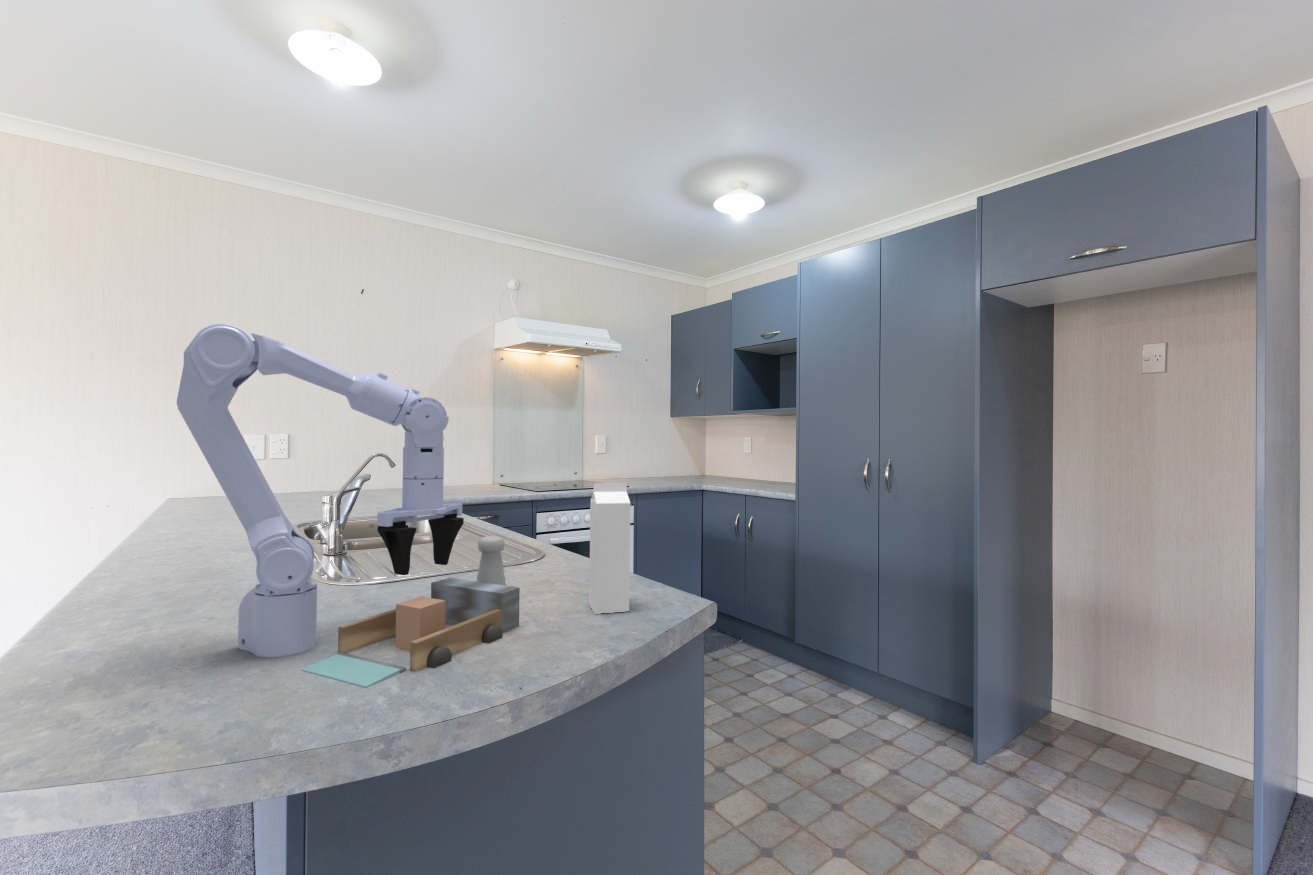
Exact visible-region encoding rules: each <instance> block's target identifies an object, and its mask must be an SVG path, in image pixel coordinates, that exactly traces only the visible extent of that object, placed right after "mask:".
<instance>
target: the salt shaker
mask: <svg viewBox="0 0 1313 875" xmlns="http://www.w3.org/2000/svg"><path fill="white" fill-rule="evenodd" d="M477 549H478V552H481V556H480V561H479V565H478V571H477V575H476V576H477V577H476V581H477V582H484V583H491V584H498V585H505V586H507V583H506V576H505V570H504V564H503V558H502V551H504V549H505V539H504V538H503V537H501V536H498V535H497V536H496V535H487V536H483V537H481V538H480V539H479V540H478V545H477Z"/></svg>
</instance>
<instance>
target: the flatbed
mask: <svg viewBox="0 0 1313 875" xmlns="http://www.w3.org/2000/svg"><path fill="white" fill-rule="evenodd" d="M430 585H431V586H430V598H434V599H440V600H446V604H445V624H450V625H451V626H449V627H445V629H443V630H441V631H438V632H435V633H433V634H430V635H427V636H425V637H422V638H420V639H417V640H414V641H412V642H410V650H409V652H410V653H409V670H410V671H413V672H419V671H420V670H423V669H425V668H427V667H428V668H431V669H436V668H438V667H440V666H442V665H445V664H447V663H449V662H451V661H452V656H454V655H457V654H459V653H461V652H464V651H466V650H468V649H471V648H472V647H474V646H477V645H479V644H481V643H485V644H491V643H493V642H495V641H498V640H500V639H501V638H503V636H504V635H503V633H506V632H508V631H511V630H513V629H515V628H518V627H520V592H521V591H520V586H519V587H518V586H511V585H506V586H505V585H498V584H491V583H484V582H477V580H470V579H462V578H457V577H456V578H455V577H447V578H444V579H440V580H437V581H433V582H431V583H430ZM337 629H338V630H337V632H338V633H337V634H338V635H337V644H338V645H337V653H339V652H342V653H347V654H349V653H350V652H353V651H356V650H359V649H361V648H364V647H367V646H369V645H372V644H375V643H378V642H382V641H384V640H386V639H389V638H392V637H396V608H394V609H391V610H388V611H385V612H382V613H378V614H375V615H373V616H369V617H365V618H362V619H359V620H356V621H353V622H349V623H345V624H343V625H340V626H338V627H337Z"/></svg>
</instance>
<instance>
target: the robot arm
mask: <svg viewBox="0 0 1313 875" xmlns="http://www.w3.org/2000/svg"><path fill="white" fill-rule="evenodd" d="M249 332H250V335H251V336H252V337H253V339H254V340H253V339H252V338H251V337H250V335H249V334H248V333H247V332H246V331H244V330H243V329H242V328H240V327H238V326H235V325H233V324H229V323H228V324H227V323H215V324H210V325H207V326H205V327H203V328H201V329H200V330H199V331H198V332H197V333H196V335H195V336H194V337H193V339H192V340H191V342H190V343H189V344H188V346H187V347H186V348H185V349H184V351H183V367H182V373H181V376H180V380H179V381H180V382H179V386H178V387H179V388H178V392H177V397H176V406H177V409H178V411H179V413H180V415H181V417H182V419H183V420H184V422H185V424H186V426H187V428H188V429H189V431H190V433H191V434H192V436H193V438H194V441H195V442H196V445H198V448H199V449H200V451H201V454H203V456H204V459H205V460H206V462H207V464H208V465H209V467H210V469H211V472H213V475H214V476H215V478H216V480H217V482H218V483H219V485H220V487H221V489H222V491H223V492H224V494H225V496H226V498H227V499H228V501H229V503H230V505H231V507H232V509H233V511H234V512H235V514H236V516H237V518H238V520H239V522H240V523H241V525H242V527H243V529H244V530H245V532H246V536H247V540H248V544H249V545H250V549H251V551H252V552H253V555H254V556H255V559H256V561H255V562H256V569H255V573H256V578H257V580H258V582H259V583H257V584H255V587H253V588H252V589H250V590H249V591H248V592H247V593H245V594H244V596H243V598H242V600H241V601H240V603H239V607H238V622H237V623H238V624H237V625H238V627H237V628H238V632H237V634H238V635H237V648H238V649H240V650H244V651H246V652H251V653H252V654H253V655H254V656H257V657H258V658H259V657H260V658H281V657H287V656H293V655H297V654H301V653H304V652H306V651H309V650H312V649H313V648H315V646H317V631H318V630H317V628H318V625H317V624H318V623H317V622H318V621H317V617H318V613H317V612H318V581H317V580H316V579H314V578H312V575H313V572H314V559H315V551H314V550H315V549H314V547H313V545H312V544H311V542H310V541H309V539H307V538H305V537H304V536H302V535H301V534H299V533H298V532H297V531H296V529H295V528H294V526H293V524H292V522H291V521H290V519H289V518H288V517H287V515H286V514H285V513H284V510H283V509H282V508H281V505H280V504H279V501H278V500H277V498H276V496H275V495H274V492H273V490H272V489H271V487H270V485H269V483H268V480H267V479H266V478H265V476H264V474H263V472H262V470H261V468H260V466H259V464H258V462H257V461H256V459H255V456H254V455H253V454H252V452H251V450H250V448H249V446H248V443H247V442H246V440H245V438H244V436H243V434H242V433H241V431H240V429H239V427H238V426H237V424H236V422H235V420H234V418H233V416H232V413H231V412H230V411H229V406H230V404H231V401H232V400H233V398H234V396H235V395H236V393H237V391H238V389H239V387H240V386H241V385H242V384H243V383H245V382H246V381H248V380H249V379H250V378H251V377H252V376H253V375H254V374H255V373H256V372H257V370H258V372H259V373H260V374H261V375H262V376H270V375H271V376H272V375H282V374H286V375H289V376H292V377H294V378H297V379H299V380H302V381H305V382H308V383H311V384H313V385H315V386H318V387H321V388H323V389H326V390H328V391H331V392H333V393H337V394H339V395H341V396H345V398H346V399H347V401H348V404H349V406H350V409H352V410H353V411H357V412H359V413H361V414H364V415H366V416H369V417H371V418H374V419H376V420H379V421H381V422H384V423H385V424H388V425H391V426H393V427H397V426H399V425H401V427H402V429H403V430H404V446H403V448H402V450H403V451H402V488H401V489H402V494H401V495H402V496H401V497H402V500H401V501H402V502H401V503H402V504H401V505H402V506H401V507H397V508H393V509H389V510H384V511H377V514H376V515H377V516H376V518H377V519H376V521H377V522H376V523H377V524H376V525H377V533H378V534H379V536H380V538H381V539H382V540H383V543H384V544H385V547H386V548H387V551H388V553H389V557H390V560H391V564H392V568H393V573H394V574H395V575H399V576H407V575H409V572H410V568H411V551H412V546H413V541H414V538H415V535H416V532H417V528H416V527H409V523H414V522H422V521H427V522H428V524H429V528H430V531H431V532H430V533H431V538H432V546H433V548H432V549H433V551H432V552H433V554H432V555H433V561H434V565H439V566H440V565H441V566H447V565H448V564H449V560H450V556H451V553H452V549H453V546H454V542H455V540H456V538H457V536H458V534H459V532H460V530H461V529H462V526H463V525H464V517H462V516H463V503H461V502H448V503H444V481H445V480H444V475H445V473H444V468H445V467H444V466H445V447H444V440H445V438H444V431H445V429H447V426H448V423H449V418H450V417H449V416H448V415H447V410H446V408H445V406H443V404H442V403H441V402H440V401H439V400H437V399H435V398H433V397H428V396H427V397H419V394H420V393H421V391H420V390H418V389H416V388H413V389H408V388H406V387H403V386H402V385H399V384H396V383H394V382H392V381H390V380H387V379H388V377H389V376H388V375H387V374H384V373H382V372H378V373H377V375H375V374H374V373H371V372H366V373H363V374H361V375H356V376H355V375H353V374H351V373H348V372H347V371H345V370H343V369H340V368H338V367H336V366H334V365H332V364H329V363H328V362H326V361H323V360H320V359H318V358H316V357H315V356H312V355H310V354H309V353H305V352H304V351H302V350H299V349H297V348H296V347H294V346H293V347H292V346H291V345H288V344H286V343H284V342H281V341H279V340H275V339H273V338H271V337H268V336H265V335H262V334H259V333H256V332H253V331H252V332H251V331H249ZM460 516H461V517H460Z"/></svg>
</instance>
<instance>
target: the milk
mask: <svg viewBox="0 0 1313 875" xmlns="http://www.w3.org/2000/svg"><path fill="white" fill-rule="evenodd" d="M592 487H593V492H592V495H591V497H590V501H589V502H590V506H589V507H590V508H589V511H590V512H589V513H590V516H589V581H588V582H589V584H588V585H589V586H588V587H589V589H588V590H589V592H588V596H589V597H588V599H589V600H588V606H589V605H590V606H589V607H590V609H591V608H592V609H591V610H592V612H593V614H594V615H595V614H597V615H602V614H601V613H611V614H614V613H613V612H625V611H629V612H630V579H631V578H630V573H631V572H630V568H631V566H630V565H631V561H630V560H631V559H630V558H631V557H630V556H631V553H630V552H631V501H630V497H629V494H628V484H627V483H626V482H599V483H597V482H596V483H594V484H593V486H592ZM625 613H626V612H625Z"/></svg>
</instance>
